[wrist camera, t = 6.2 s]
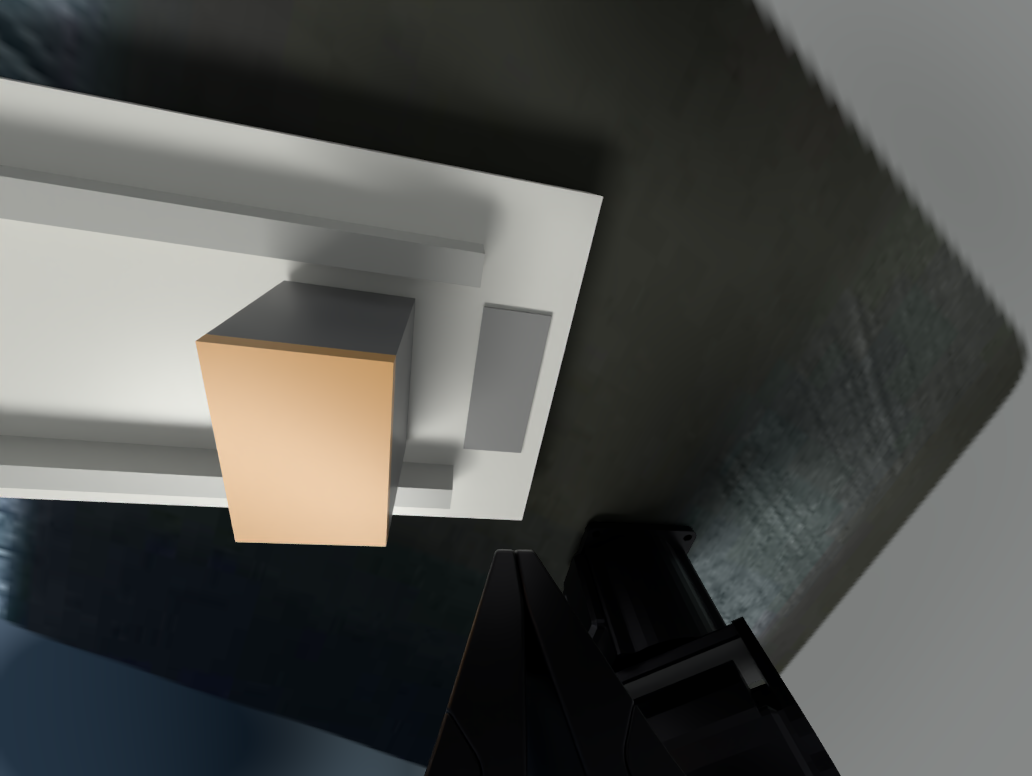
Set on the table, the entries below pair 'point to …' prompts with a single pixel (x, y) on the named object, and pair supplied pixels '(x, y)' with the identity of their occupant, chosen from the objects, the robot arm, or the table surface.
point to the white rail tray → (247, 276)
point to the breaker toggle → (311, 412)
